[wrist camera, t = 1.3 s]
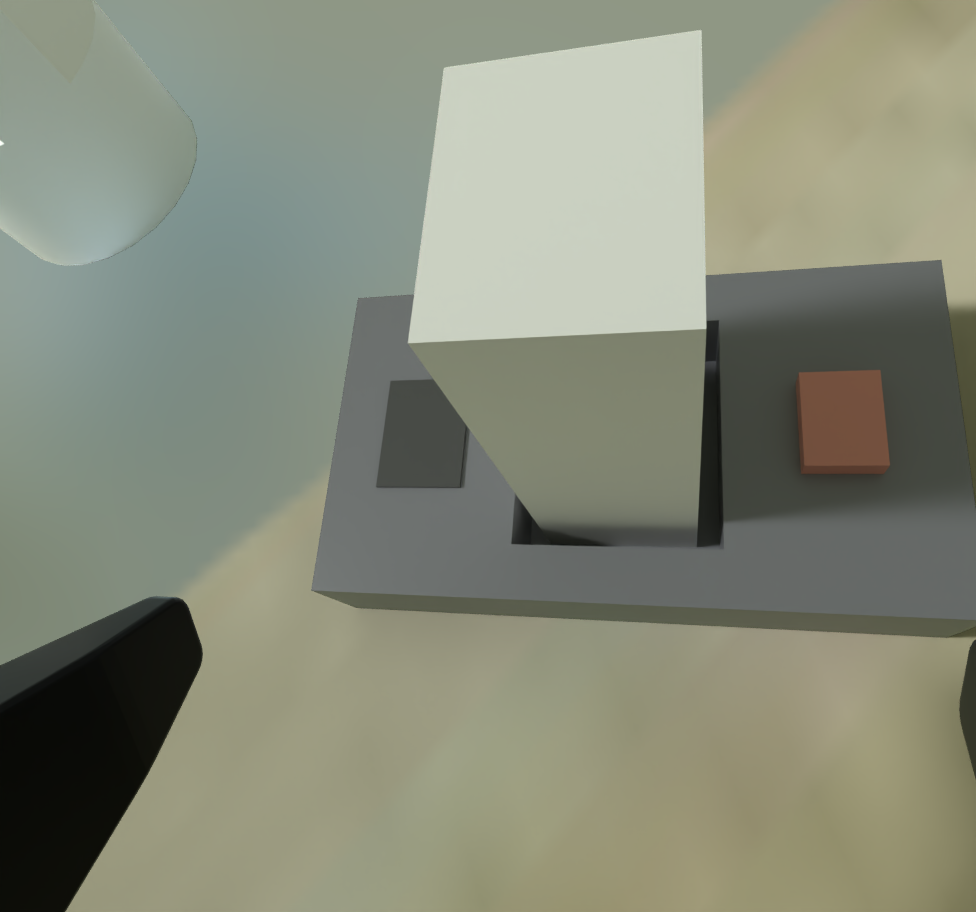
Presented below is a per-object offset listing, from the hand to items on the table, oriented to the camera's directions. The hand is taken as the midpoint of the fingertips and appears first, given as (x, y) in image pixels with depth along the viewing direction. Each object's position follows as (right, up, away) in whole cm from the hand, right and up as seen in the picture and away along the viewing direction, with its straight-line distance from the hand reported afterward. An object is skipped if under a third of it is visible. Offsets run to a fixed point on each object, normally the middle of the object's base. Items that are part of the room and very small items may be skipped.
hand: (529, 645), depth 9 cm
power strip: (+4, +2, +14) cm, 14 cm away
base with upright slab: (-17, +14, +24) cm, 33 cm away
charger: (+3, +2, +13) cm, 14 cm away
